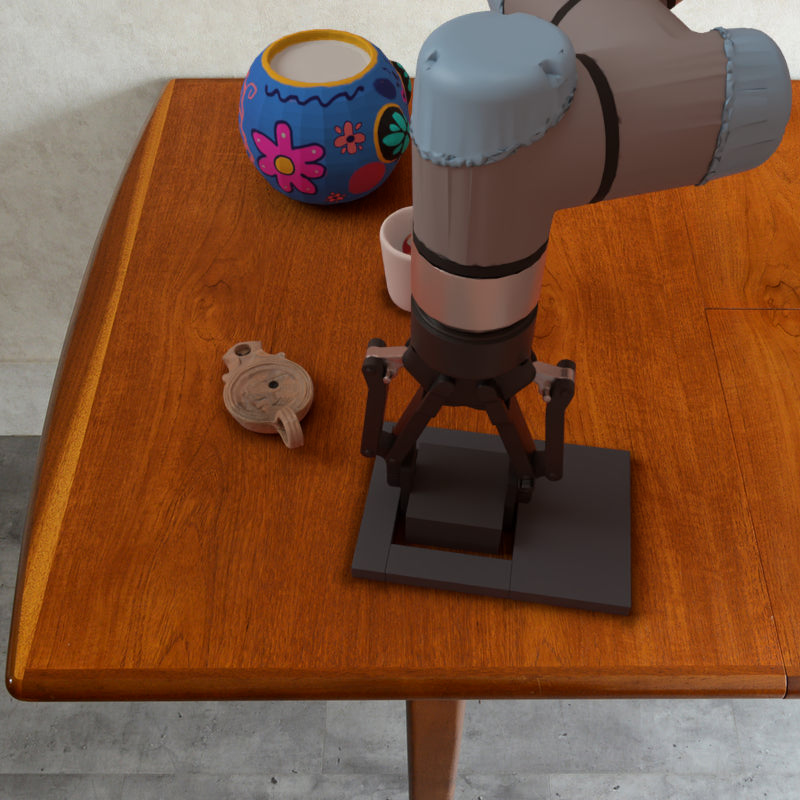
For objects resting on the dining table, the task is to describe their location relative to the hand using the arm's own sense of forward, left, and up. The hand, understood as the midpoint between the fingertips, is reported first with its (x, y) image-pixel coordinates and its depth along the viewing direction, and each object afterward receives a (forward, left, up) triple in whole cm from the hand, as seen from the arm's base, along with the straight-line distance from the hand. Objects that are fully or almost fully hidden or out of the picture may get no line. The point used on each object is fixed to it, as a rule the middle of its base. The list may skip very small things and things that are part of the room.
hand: (457, 512), depth 70 cm
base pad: (-3, 0, -1) cm, 3 cm away
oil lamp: (+17, -8, -1) cm, 19 cm away
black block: (0, 0, 0) cm, 0 cm away
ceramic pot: (+19, -41, -1) cm, 45 cm away
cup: (+5, -25, -1) cm, 26 cm away
